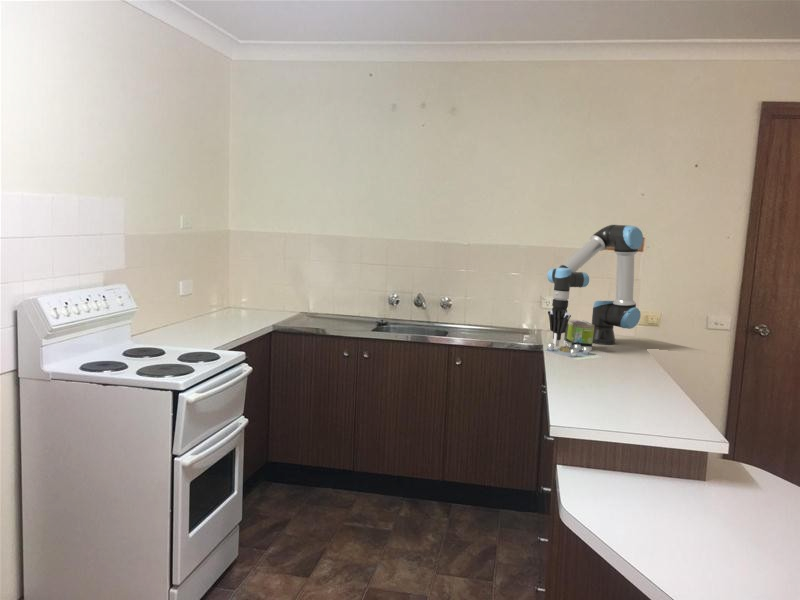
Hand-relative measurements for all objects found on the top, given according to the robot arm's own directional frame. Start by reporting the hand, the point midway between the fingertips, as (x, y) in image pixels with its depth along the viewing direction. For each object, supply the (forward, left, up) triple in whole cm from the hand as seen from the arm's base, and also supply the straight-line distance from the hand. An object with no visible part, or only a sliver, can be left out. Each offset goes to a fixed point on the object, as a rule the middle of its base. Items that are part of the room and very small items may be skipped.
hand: (556, 346), depth 331 cm
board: (0, +11, -3) cm, 11 cm away
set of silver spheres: (0, +9, -2) cm, 9 cm away
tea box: (-16, 0, -3) cm, 17 cm away
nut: (0, +6, -2) cm, 6 cm away
